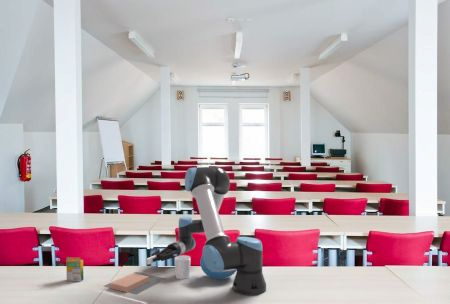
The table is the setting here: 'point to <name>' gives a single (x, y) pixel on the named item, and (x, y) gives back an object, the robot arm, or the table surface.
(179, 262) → the white cup
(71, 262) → the crayon box
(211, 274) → the educational model
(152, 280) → the mat
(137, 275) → the tile
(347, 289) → the table surface
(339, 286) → the table surface
